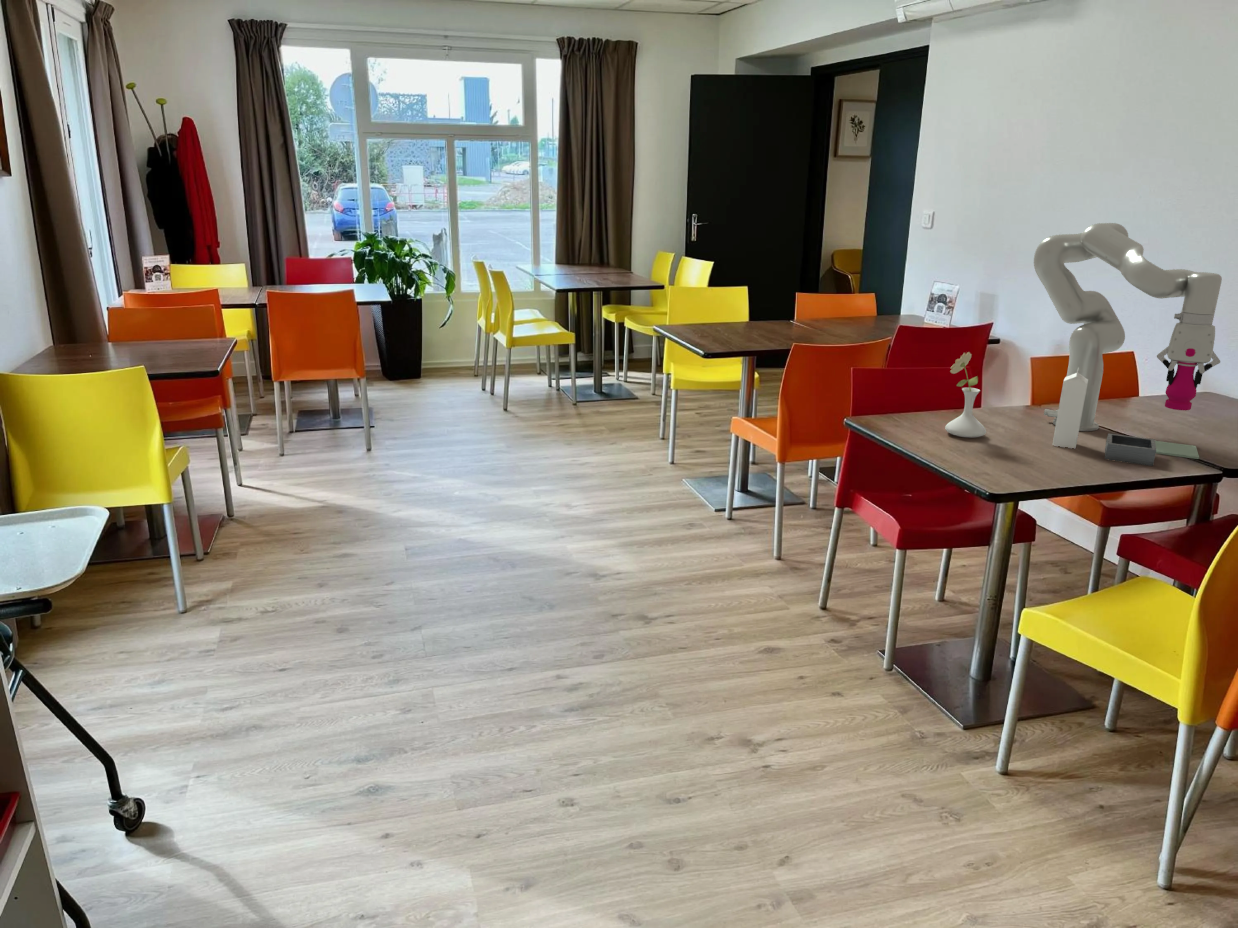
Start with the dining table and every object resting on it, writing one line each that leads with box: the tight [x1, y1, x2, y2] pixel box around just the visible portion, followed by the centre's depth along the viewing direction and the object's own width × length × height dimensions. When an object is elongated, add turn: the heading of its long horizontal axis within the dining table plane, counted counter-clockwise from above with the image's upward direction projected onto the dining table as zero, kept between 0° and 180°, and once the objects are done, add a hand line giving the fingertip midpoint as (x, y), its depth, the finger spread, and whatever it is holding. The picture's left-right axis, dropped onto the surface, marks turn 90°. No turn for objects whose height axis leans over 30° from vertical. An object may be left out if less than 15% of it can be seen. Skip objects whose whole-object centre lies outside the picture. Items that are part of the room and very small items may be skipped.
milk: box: [1052, 368, 1088, 450], centre depth 249 cm, size 6×6×22 cm
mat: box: [1155, 440, 1200, 460], centre depth 249 cm, size 14×12×1 cm
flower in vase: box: [944, 351, 987, 438], centre depth 256 cm, size 13×11×25 cm
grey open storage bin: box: [1104, 433, 1156, 467], centre depth 241 cm, size 11×11×4 cm
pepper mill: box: [1164, 348, 1198, 411], centre depth 242 cm, size 7×7×20 cm
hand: (1182, 384), depth 243 cm, fingers closed on pepper mill, 5 cm apart
